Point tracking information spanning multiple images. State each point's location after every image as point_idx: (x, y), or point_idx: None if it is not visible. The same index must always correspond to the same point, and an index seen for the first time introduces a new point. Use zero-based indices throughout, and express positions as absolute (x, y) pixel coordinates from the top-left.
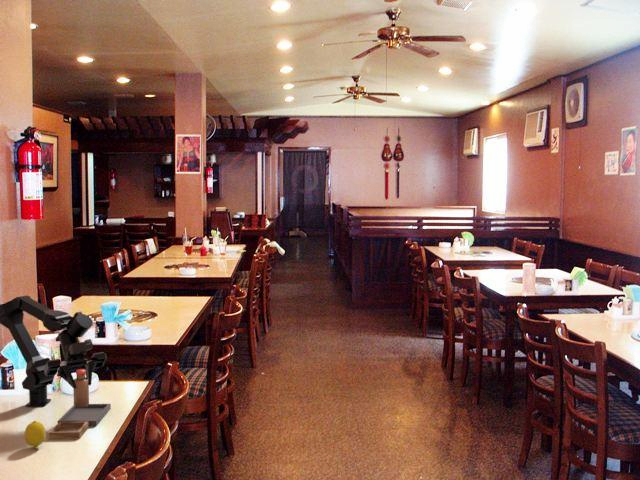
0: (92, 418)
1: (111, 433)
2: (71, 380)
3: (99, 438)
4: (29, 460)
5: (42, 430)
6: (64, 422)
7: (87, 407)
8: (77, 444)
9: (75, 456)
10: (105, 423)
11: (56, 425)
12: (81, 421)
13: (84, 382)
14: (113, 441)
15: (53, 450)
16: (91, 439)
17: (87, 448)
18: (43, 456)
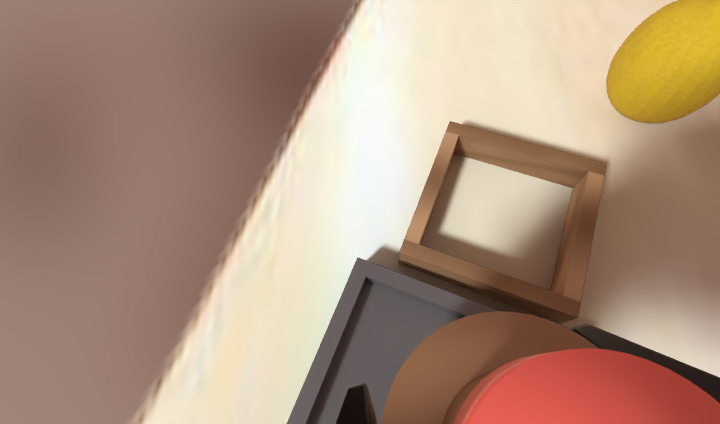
0: (371, 366)
1: (306, 153)
2: (705, 379)
3: (362, 119)
4: (617, 18)
5: (639, 25)
6: (542, 291)
7: None
8: (451, 92)
9: (455, 6)
10: (309, 292)
11: (584, 257)
12: (439, 288)
13: (449, 324)
14: (315, 77)
15: (542, 68)
16: (394, 120)
17: (414, 50)
18: (571, 33)
